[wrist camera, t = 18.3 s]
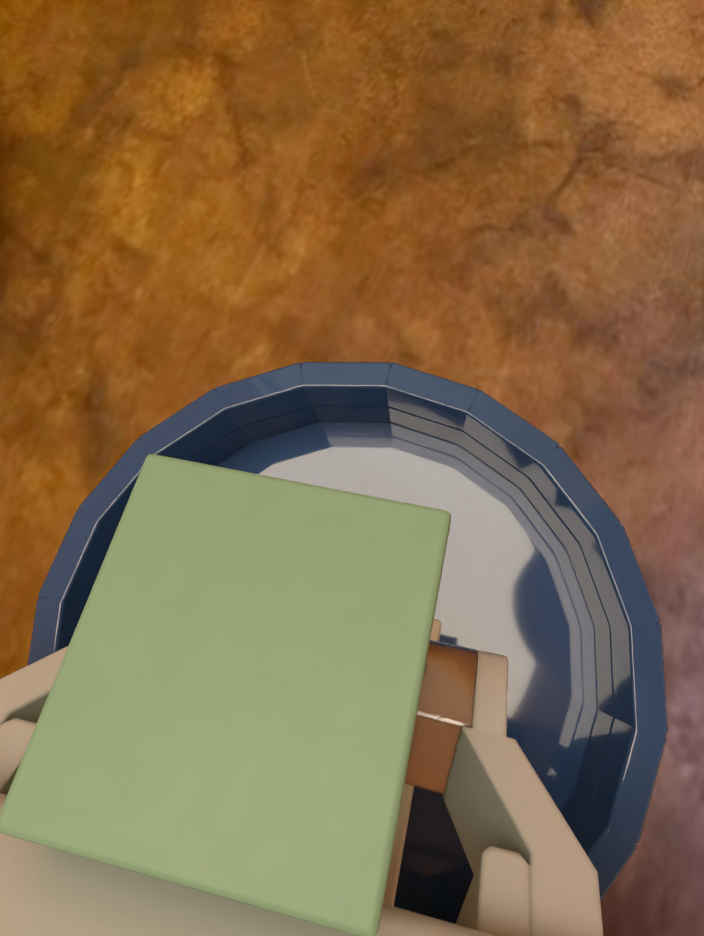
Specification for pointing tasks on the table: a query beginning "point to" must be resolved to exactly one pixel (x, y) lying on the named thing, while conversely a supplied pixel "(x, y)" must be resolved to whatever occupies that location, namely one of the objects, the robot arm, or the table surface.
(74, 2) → the table surface
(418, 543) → the green block on base
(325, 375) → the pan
